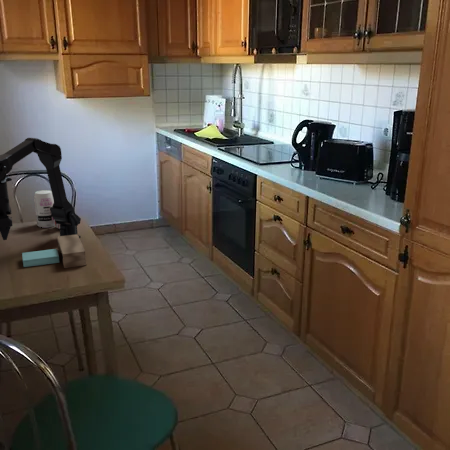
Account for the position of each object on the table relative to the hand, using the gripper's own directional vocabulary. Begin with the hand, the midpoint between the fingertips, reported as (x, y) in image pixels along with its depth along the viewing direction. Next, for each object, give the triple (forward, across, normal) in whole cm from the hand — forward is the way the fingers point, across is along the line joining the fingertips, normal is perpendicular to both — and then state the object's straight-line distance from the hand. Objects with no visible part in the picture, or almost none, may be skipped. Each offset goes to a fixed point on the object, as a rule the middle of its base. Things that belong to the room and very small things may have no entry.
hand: (4, 239), depth 179 cm
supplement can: (+10, -43, +16) cm, 47 cm away
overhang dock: (+10, 0, +22) cm, 24 cm away
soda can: (+10, -37, +23) cm, 44 cm away
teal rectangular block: (+10, 0, +11) cm, 14 cm away
